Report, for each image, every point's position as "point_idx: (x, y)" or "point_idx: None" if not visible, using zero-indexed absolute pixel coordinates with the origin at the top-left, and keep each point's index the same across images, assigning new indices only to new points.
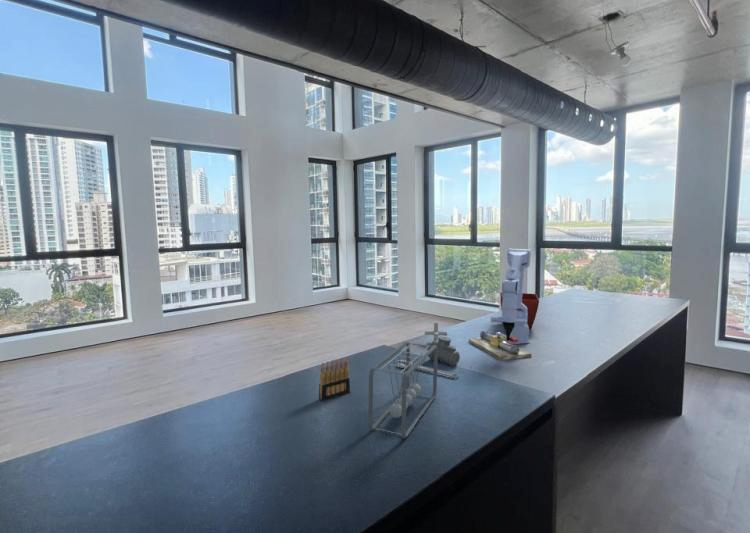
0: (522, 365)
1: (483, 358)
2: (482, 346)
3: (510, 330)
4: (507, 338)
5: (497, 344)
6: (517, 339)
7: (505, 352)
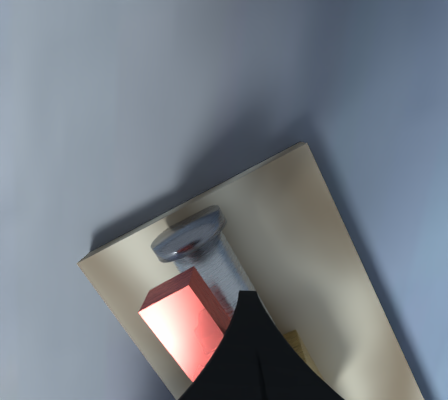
0: (153, 60)
1: (412, 149)
2: (396, 339)
3: (225, 378)
4: (255, 300)
5: (302, 349)
6: (143, 307)
7: (253, 246)
